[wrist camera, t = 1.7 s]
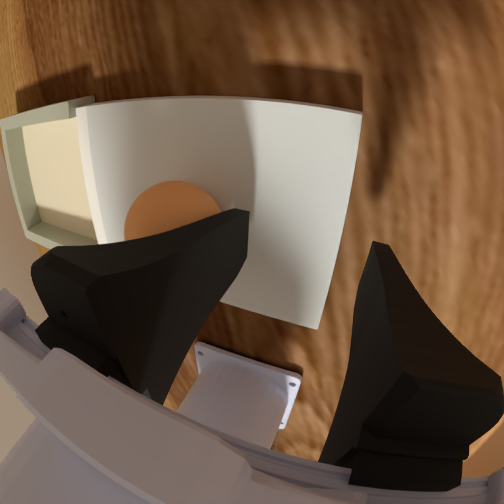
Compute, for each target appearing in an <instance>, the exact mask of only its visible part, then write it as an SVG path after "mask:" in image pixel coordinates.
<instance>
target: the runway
mask: <svg viewBox="0 0 504 504" xmlns="http://www.w3.org/2000/svg"><path fill="white" fill-rule="evenodd" d="M362 114H363V112H361V111H356V110H351V109H345V108H340V107H334V106H328V105H321V104H314V103H307V102H299V101H290V100H281V99H270V98H256V97H239V96H166V97H148V98H136V99H125V100H116V101H107V102H100V103H94V104H90V105H85V106H82V107H78V108H76V118H77V129H78V138H79V146H80V154H81V161H82V167H83V174H84V180H85V185H86V191H87V196H88V201H89V206H90V211H91V215H92V220H93V224H94V229H95V233H96V237H97V241H98V244H107V243H115V242H121V241H125V239H124V225H125V220H126V216H127V214H128V211H129V209H130V207H131V205H132V204H133V202H134V201H135V200H136V198H137V197H138V196H139V195H140V194H141V193H142V192H144V191H145V190H146V189H148V188H150V187H151V186H153V185H155V184H158V183H161V182H165V181H184V182H188V183H192V184H194V185H197V186H198V187H200V188H202V189H203V190H205V191H206V192H207V193H208V194H209V195H210V196H211V197H212V198H213V199H214V200H215V202H216V203H217V205H218V207H219V208H220V211H221V212H223V211H226V210H229V209H233V208H236V209H241V210H246V211H250V216H249V235H248V253H247V258H246V260H245V262H244V264H243V266H242V268H241V270H240V272H239V274H238V276H237V277H236V279H235V280H234V282H233V283H232V284H231V286H230V287H229V289H228V290H227V291H226V293H225V294H224V296H223V297H222V298H221V300H220V301H219V302H222V303H226V304H229V305H232V306H235V307H239V308H242V309H245V310H249V311H252V312H255V313H259V314H262V315H266V316H269V317H273V318H276V319H280V320H283V321H287V322H290V323H294V324H298V325H301V326H305V327H309V328H313V329H316V330H317V329H318V326H319V322H320V319H321V315H322V312H323V308H324V304H325V301H326V297H327V293H328V289H329V286H330V282H331V278H332V274H333V270H334V266H335V261H336V257H337V253H338V249H339V244H340V240H341V235H342V231H343V226H344V221H345V216H346V212H347V207H348V201H349V196H350V191H351V186H352V180H353V174H354V168H355V162H356V156H357V150H358V143H359V137H360V130H361V122H362Z"/></svg>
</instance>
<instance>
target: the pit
mask: <svg viewBox="0 0 504 504" xmlns="http://www.w3.org/2000/svg"><path fill="white" fill-rule="evenodd" d="M94 103H95V95H92V96H87V97H81V98H76V99H71V100H67V101H62V102H58V103H54V104H49V105H46V106H42V107H38V108H34V109H31V110H27V111H24V112H20V113H17V114H14V115H12V116H9V117H6V118H3V119H1V120H0V126H1V134H2V141H3V147H4V153H5V159H6V164H7V169H8V174H9V178H10V183H11V187H12V190H13V195H14V199H15V203H16V206H17V210H18V213H19V217H20V220H21V223H22V226H23V230H24V233H25V236H26V238H28V239H30V240H32V241H34V242H36V243H38V244H40V245H42V246H44V247H46V248H49V249H52V248H54V247H56V246H82V245H97V244H98V241H97V237H96V233H95V229H94V224H93V220H92V215H91V211H90V206H89V201H88V196H87V191H86V185H85V180H84V174H83V167H82V161H81V154H80V146H79V138H78V129H77V118H76V108H78V107H82V106H85V105H90V104H94Z"/></svg>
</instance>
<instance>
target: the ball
mask: <svg viewBox="0 0 504 504" xmlns="http://www.w3.org/2000/svg"><path fill="white" fill-rule="evenodd" d="M220 212H221V211H220V208H219V207H218V205H217V203H216V202H215V200H214V199H213V198H212V197H211V196H210V195H209V194H208V193H207V192H206V191H205V190H203V189H202V188H200V187H198V186H197V185H194V184H192V183H188V182H184V181H165V182H161V183H158V184H155V185H153V186H151V187H150V188H148V189H146V190H145V191H144V192H142V193H141V194H140V195H139V196H138V197H137V198H136V200H135V201H134V202H133V204H132V205H131V207H130V209H129V211H128V214H127V216H126V220H125V225H124V239H125V241H127V240H132V239H138V238H143V237H147V236H151V235H155V234H159V233H163V232H166V231H169V230H172V229H175V228H178V227H181V226H184V225H187V224H190V223H193V222H196V221H198V220H201V219H204V218H206V217H209V216H212V215H215V214H217V213H220Z"/></svg>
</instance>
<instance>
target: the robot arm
mask: <svg viewBox="0 0 504 504" xmlns="http://www.w3.org/2000/svg"><path fill="white" fill-rule="evenodd" d="M249 216H250V211H246V210H241V209H236V208H233V209H229V210H226V211H223V212H220V213H217V214H215V215H212V216H209V217H206V218H204V219H201V220H198V221H196V222H193V223H190V224H187V225H184V226H181V227H178V228H175V229H172V230H169V231H166V232H163V233H159V234H155V235H151V236H147V237H143V238H138V239H132V240H127V241H121V242H115V243H107V244H97V245H82V246H56V247H54V248H52V249H51V250H49V251H48V252H47V253H45V254H44V255H43V256H41V257H40V258H39V259H38V260H36V261H35V262H34V263H33V264H32V266H31V277H32V281H33V284H34V286H35V289H36V291H37V293H38V296H39V298H40V300H41V302H42V304H43V306H44V308H45V310H46V312H47V314H48V316H49V317H48V318H47V319H46V320H45V321H44V322H43V323H42V324H41V325H40V326H38V325H37V324H36V323H35V322H33V321H32V320H31V319H30V318H29V317H27V316H26V313H25V310H24V308H23V307H22V305H21V303H20V302H19V300H18V299H17V298H16V297H15V296H14V295H13V294H12V293H11V292H10V291H8V290H7V289H6V288H3V289H2V290H1V291H0V374H1V376H2V377H3V378H4V379H5V381H6V382H7V383H8V384H9V385H10V386H11V388H12V389H13V390H14V391H15V392H16V393H17V398H18V399H19V400H20V401H21V402H22V403H23V404H24V406H25V407H26V408H27V409H28V410H29V411H30V412H31V413H32V414H33V415H34V416H35V417H36V419H35V420H34V421H33V423H32V424H31V426H29V428H28V429H27V430H26V431H25V433H24V434H23V435H22V437H21V438H20V439H19V440H18V442H17V443H16V444H15V446H14V447H13V448H12V449H11V451H10V452H9V453H8V455H7V456H6V457H5V459H4V460H3V461H2V463H1V464H0V504H504V467H503V468H501V469H499V470H497V471H495V472H494V473H492V474H491V475H490V476H481V477H462V464H463V460H465V459H467V458H468V456H469V445H470V444H471V443H473V442H474V441H476V440H477V439H478V438H480V437H481V436H483V435H484V434H485V433H487V432H488V431H489V430H490V429H491V428H493V427H494V426H495V425H496V424H497V423H498V421H499V420H500V419H501V417H502V415H503V414H504V393H503V387H502V381H501V377H500V376H499V375H498V374H497V373H495V372H494V371H493V370H492V369H490V368H489V367H488V366H487V365H485V364H484V363H483V362H482V361H480V360H479V359H478V358H477V357H475V356H474V355H473V354H472V353H471V352H470V351H469V350H468V349H467V348H466V347H465V346H463V345H462V344H461V343H460V342H459V341H458V340H457V339H456V338H455V337H454V336H453V335H452V333H451V332H450V331H449V330H448V329H447V328H446V327H445V326H444V325H443V324H442V323H441V321H440V320H439V319H438V318H437V317H436V316H435V314H434V313H433V312H432V311H431V309H430V308H429V307H428V306H427V304H426V303H425V302H424V300H423V299H422V298H421V296H420V295H419V293H418V292H417V290H416V289H415V287H414V286H413V284H412V283H411V281H410V280H409V278H408V276H407V275H406V273H405V271H404V270H403V268H402V266H401V265H400V263H399V261H398V260H397V258H396V256H395V254H394V253H393V251H392V249H391V248H390V246H389V245H387V244H383V243H379V242H376V241H373V242H372V245H371V248H370V252H369V255H368V258H367V261H366V264H365V267H364V271H363V274H362V277H361V280H360V283H359V285H358V290H357V296H356V301H355V306H354V314H353V326H352V337H351V346H350V356H349V362H348V368H347V373H346V377H345V381H344V384H343V388H342V392H341V396H340V399H339V403H338V406H337V409H336V413H335V416H334V419H333V422H332V425H331V428H330V431H329V434H328V437H327V440H326V442H325V445H324V448H323V450H322V453H321V455H320V458H319V461H318V462H316V461H311V460H307V459H303V458H299V457H296V456H292V455H288V454H285V453H281V452H278V451H275V450H272V449H271V446H272V444H273V441H274V439H275V436H276V434H277V431H278V429H284V428H285V426H286V423H287V420H288V418H289V415H290V412H291V409H292V407H293V404H294V401H295V398H296V395H297V392H298V389H299V386H300V383H301V380H302V377H301V375H300V374H298V373H295V372H291V371H288V370H284V369H281V368H278V367H274V366H271V365H268V364H265V363H261V362H258V361H255V360H252V359H249V358H246V357H243V356H240V355H237V354H234V353H231V352H228V351H225V350H223V349H220V348H217V347H214V346H211V345H209V344H206V343H203V342H197V343H196V344H195V345H194V348H195V354H196V360H197V366H198V371H199V376H198V378H197V379H196V381H195V383H194V384H193V386H192V387H191V389H190V391H189V392H188V394H187V395H186V397H185V399H184V400H183V402H182V403H181V405H180V407H179V408H178V410H177V411H176V412H175V411H173V410H171V409H169V408H167V407H165V406H163V404H164V401H165V399H166V397H167V394H168V392H169V390H170V387H171V385H172V383H173V381H174V379H175V377H176V375H177V373H178V370H179V368H180V366H181V364H182V362H183V360H184V358H185V356H186V355H187V353H188V351H189V349H190V347H191V345H192V343H193V341H194V340H195V338H196V336H197V334H198V332H199V331H200V329H201V327H202V325H203V324H204V322H205V321H206V319H207V318H208V316H209V315H210V313H211V312H212V311H213V309H214V308H215V306H216V305H217V304H218V302H219V301H220V300H221V298H222V297H223V296H224V294H225V293H226V291H227V290H228V289H229V287H230V286H231V284H232V283H233V282H234V280H235V279H236V277H237V276H238V274H239V272H240V270H241V268H242V266H243V264H244V262H245V260H246V258H247V253H248V235H249Z"/></svg>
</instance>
